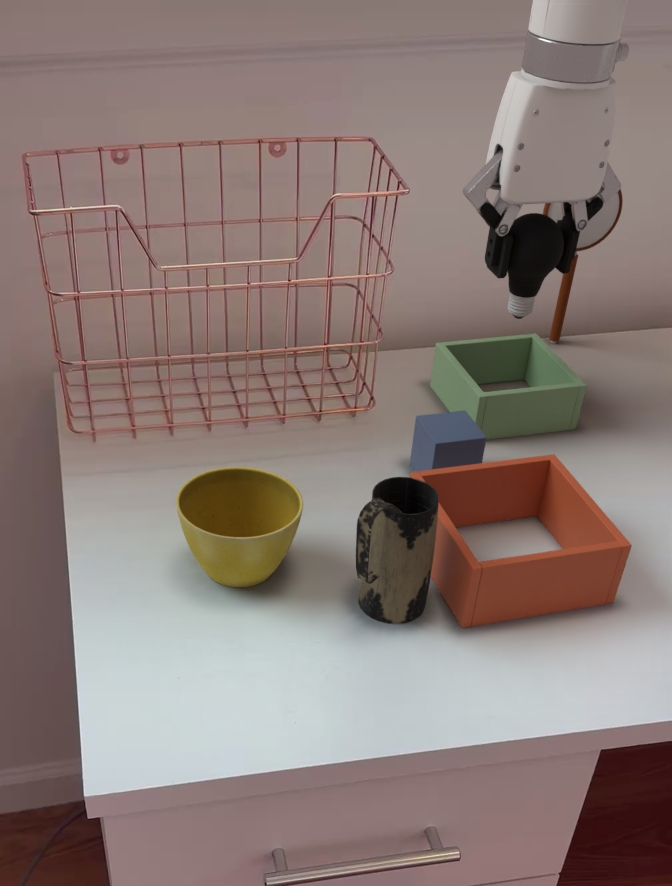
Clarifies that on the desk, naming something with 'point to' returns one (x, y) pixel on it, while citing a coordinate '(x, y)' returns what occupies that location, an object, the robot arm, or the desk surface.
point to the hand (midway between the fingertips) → (527, 268)
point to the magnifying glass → (587, 239)
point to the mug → (396, 549)
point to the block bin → (528, 576)
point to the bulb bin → (513, 410)
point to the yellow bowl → (239, 522)
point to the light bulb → (531, 259)
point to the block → (446, 441)
